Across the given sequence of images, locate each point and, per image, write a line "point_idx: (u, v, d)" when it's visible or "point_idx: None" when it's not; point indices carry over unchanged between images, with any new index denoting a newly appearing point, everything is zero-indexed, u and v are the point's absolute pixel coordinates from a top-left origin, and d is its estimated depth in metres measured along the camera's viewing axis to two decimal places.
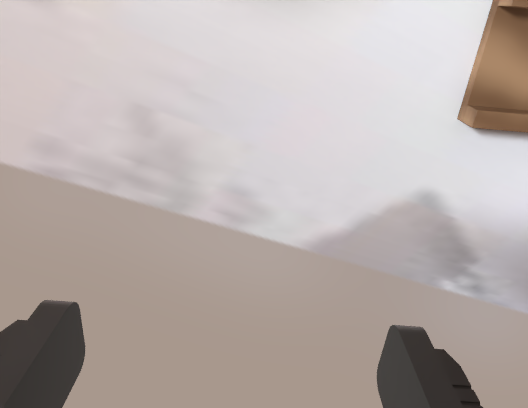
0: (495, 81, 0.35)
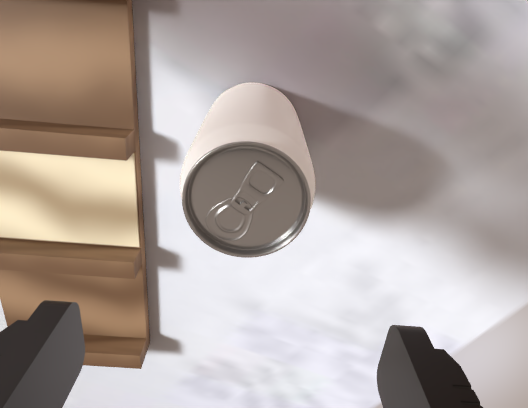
0: (25, 311, 0.34)
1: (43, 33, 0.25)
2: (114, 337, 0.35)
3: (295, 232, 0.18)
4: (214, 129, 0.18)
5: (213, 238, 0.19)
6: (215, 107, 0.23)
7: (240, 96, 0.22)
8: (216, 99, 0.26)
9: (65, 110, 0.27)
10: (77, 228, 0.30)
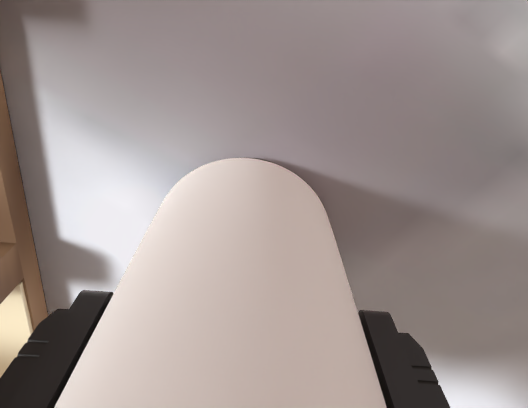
0: None
1: None
2: None
3: None
4: None
5: None
6: (150, 244, 0.10)
7: (208, 222, 0.09)
8: (170, 191, 0.13)
9: None
10: None
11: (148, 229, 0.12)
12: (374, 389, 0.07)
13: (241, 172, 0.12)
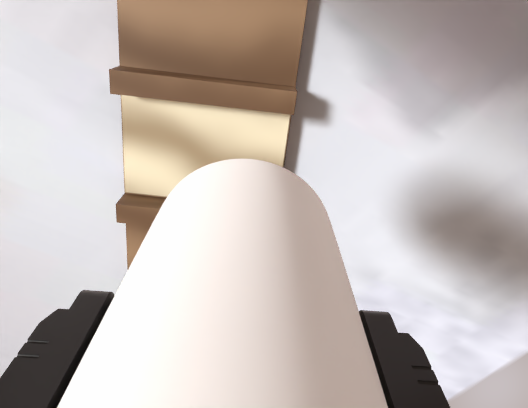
0: None
1: None
2: None
3: None
4: None
5: None
6: (152, 245, 0.10)
7: (209, 223, 0.09)
8: (171, 192, 0.13)
9: (231, 64, 0.27)
10: None
11: (149, 230, 0.12)
12: (376, 390, 0.07)
13: (242, 173, 0.12)
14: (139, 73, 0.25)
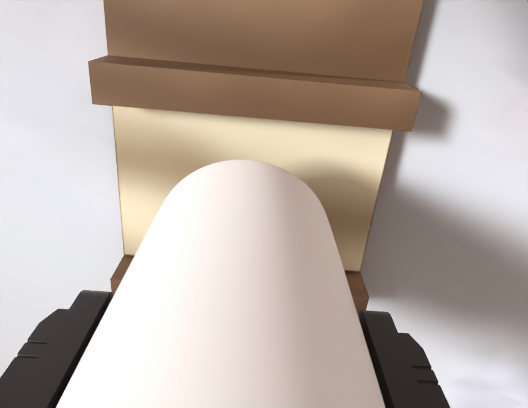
0: None
1: None
2: None
3: None
4: None
5: None
6: (151, 246, 0.10)
7: (208, 224, 0.09)
8: (170, 193, 0.13)
9: (298, 47, 0.16)
10: None
11: (148, 231, 0.12)
12: (373, 391, 0.07)
13: (241, 174, 0.12)
14: (142, 67, 0.14)
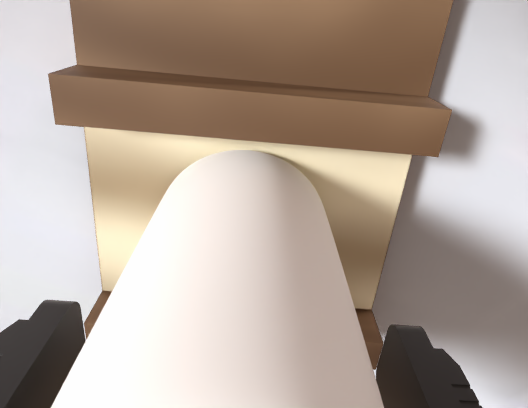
0: None
1: None
2: None
3: None
4: None
5: None
6: (156, 227, 0.10)
7: (210, 207, 0.10)
8: (173, 182, 0.14)
9: (302, 56, 0.13)
10: None
11: (153, 216, 0.12)
12: (362, 354, 0.08)
13: (241, 162, 0.13)
14: (114, 80, 0.12)
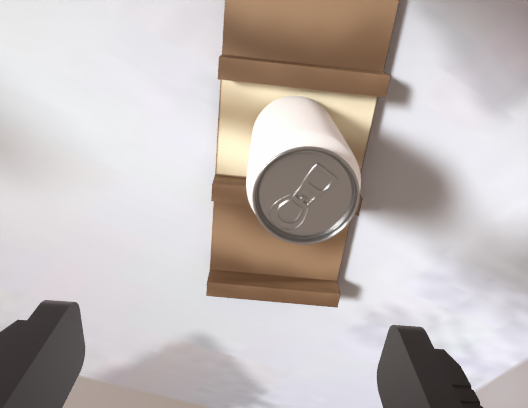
0: (231, 251, 0.37)
1: None
2: (308, 279, 0.38)
3: (344, 223, 0.22)
4: (279, 136, 0.21)
5: (274, 227, 0.22)
6: (268, 117, 0.26)
7: (291, 108, 0.26)
8: (263, 109, 0.30)
9: (325, 52, 0.29)
10: None
11: (260, 119, 0.28)
12: None
13: (297, 98, 0.29)
14: (246, 60, 0.28)
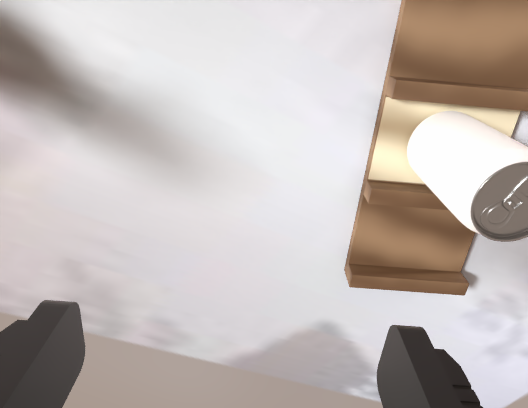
0: (370, 247, 0.41)
1: (490, 10, 0.31)
2: (435, 270, 0.42)
3: None
4: (492, 152, 0.25)
5: (480, 228, 0.27)
6: (447, 132, 0.31)
7: (468, 124, 0.30)
8: (423, 123, 0.34)
9: (480, 72, 0.34)
10: None
11: (429, 133, 0.32)
12: None
13: (458, 114, 0.33)
14: (419, 82, 0.32)
